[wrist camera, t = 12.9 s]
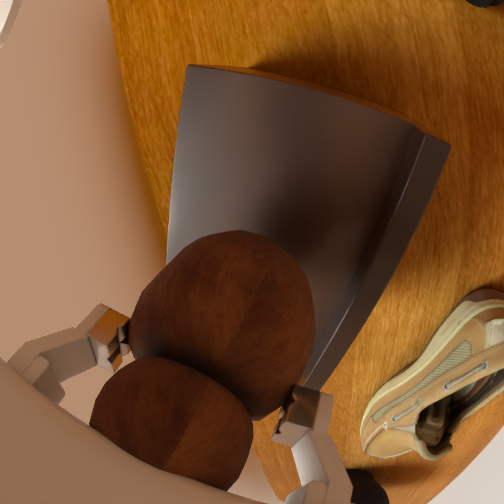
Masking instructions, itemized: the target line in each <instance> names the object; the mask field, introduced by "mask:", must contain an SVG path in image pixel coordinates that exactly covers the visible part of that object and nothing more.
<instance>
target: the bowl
mask: <svg viewBox="0 0 504 504" xmlns="http://www.w3.org/2000/svg"><path fill="white" fill-rule="evenodd" d="M346 472H347V474H348V476H349V479H350V481H351V483H352V486H353V490H352V495H351V500H350V504H389V499H388V496H387V494H386V492H385V490H384V489H383V488H382V487H381V485H380V484H379V483H377V482H376V481H375V480H374V477H373V475H372V474H371V473H370V472H367V471H363V470H354V469H350V470H346Z"/></svg>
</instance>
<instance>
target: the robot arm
mask: <svg viewBox="0 0 504 504" xmlns="http://www.w3.org/2000/svg"><path fill="white" fill-rule="evenodd" d="M130 319H131V318H129V317H127V316H125V315H123V314H120V313H118V312H117V311H115V310H113V309H111V308H109V307H107V306H106V305H104V304H99V305H97V306H96V307H95V308H94V309H93V310H92V312H91V313H90V314H89V315H88V316H87V317H86V318H85V319H84V320H83V321H82V322H81V323H80V324H79V325H78V326H77V328H76V329H74V328H73V327H72V328H69V329H66V330H63V331H60V332H57V333H53V334H50V335H47V336H44V337H41V338H38V339H35V340H31V341H28V342H25V343H24V345H23V346H22V347H21V348H20V349H19V350H18V351H17V352H16V353H15V354H14V355H13V356H12V357H11V359H10V360H9V361H8V362H7V363H6V362H5V361H4V360H3V359H1V357H0V504H266V503H262V502H259V501H255V500H252V499H248V498H245V497H242V496H239V495H236V494H232V493H229V492H226V491H224V490H221V489H218V488H215V487H212V486H210V485H207V484H204V483H202V482H199V481H196V480H194V479H191V478H188V477H184V476H180V475H176V474H172V473H169V472H166V471H163V470H160V469H158V468H155V467H153V466H151V465H149V464H147V463H145V462H143V461H141V460H139V459H137V458H136V457H134V456H132V455H131V454H129V453H127V452H126V451H124V450H122V449H121V448H120V447H118V446H117V445H115V444H114V443H113V442H112V441H110V440H109V439H108V438H107V437H105V436H104V435H103V434H102V433H100V432H98V431H97V430H95V429H94V428H92V427H90V426H89V425H87V424H86V423H84V422H82V421H81V420H79V419H78V418H76V417H75V416H74V415H72V414H70V413H69V412H68V411H66V410H65V409H63V408H62V407H60V406H59V405H58V404H59V403H60V401H61V400H62V399H63V397H64V396H65V391H64V389H63V388H62V386H61V384H60V382H62V381H64V380H67V379H68V378H71V377H73V376H75V375H77V374H79V373H81V372H84V371H86V370H88V369H90V368H92V367H94V366H96V364H97V365H99V366H101V367H103V368H104V369H106V370H108V371H110V372H112V373H114V372H115V371H116V369H117V368H118V367H119V366H120V364H121V363H122V356H124V355H126V354H128V353H129V352H130V351H131V348H130V345H129V335H128V328H129V322H130ZM333 401H334V397H333V395H330V394H327V393H323V392H320V391H317V390H314V389H310V388H307V387H303V386H300V385H297V384H294V385H293V387H292V389H291V391H290V393H289V396H288V399H287V401H285V403H284V404H283V405H282V406H281V409H280V412H279V415H278V417H279V421H278V422H277V424H276V425H275V428H274V431H273V434H272V437H271V441H273V442H276V443H279V444H282V445H286V446H289V447H292V448H291V449H292V453H293V456H294V460H295V463H296V467H297V470H298V474H299V477H300V481H301V484H302V487H301V488H299V489H297V490H295V491H294V492H292V493H290V494H288V495H287V497H286V500H285V503H284V504H350V500H351V495H352V490H353V486H352V483H351V481H350V479H349V476H348V474H347V472H346V469H345V467H344V465H343V462H342V460H341V458H340V455H339V453H338V451H337V448H336V446H335V444H334V441H333V439H332V437H331V436H330V435H327V434H328V429H329V424H330V418H331V412H332V407H333Z"/></svg>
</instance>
